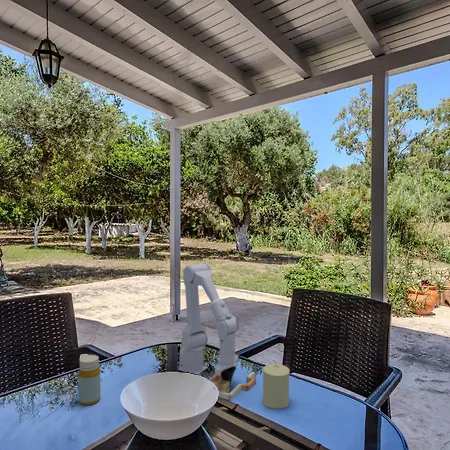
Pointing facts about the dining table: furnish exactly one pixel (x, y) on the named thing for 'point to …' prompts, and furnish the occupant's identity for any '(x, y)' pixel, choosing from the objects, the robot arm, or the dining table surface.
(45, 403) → the dining table surface
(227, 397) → the cream and orange frame
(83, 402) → the bottle
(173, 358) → the dining table surface
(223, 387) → the block
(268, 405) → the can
